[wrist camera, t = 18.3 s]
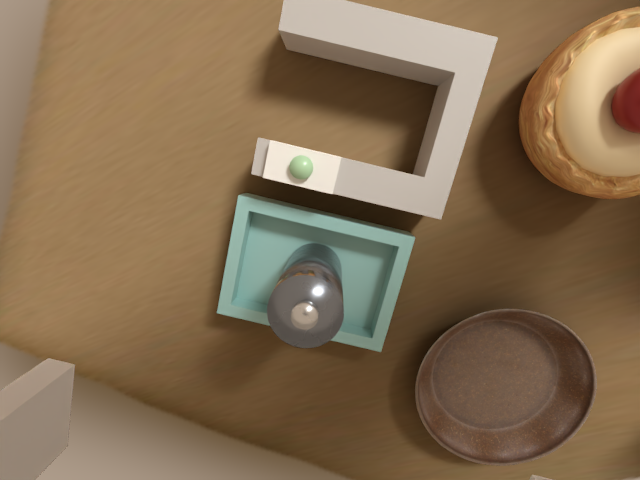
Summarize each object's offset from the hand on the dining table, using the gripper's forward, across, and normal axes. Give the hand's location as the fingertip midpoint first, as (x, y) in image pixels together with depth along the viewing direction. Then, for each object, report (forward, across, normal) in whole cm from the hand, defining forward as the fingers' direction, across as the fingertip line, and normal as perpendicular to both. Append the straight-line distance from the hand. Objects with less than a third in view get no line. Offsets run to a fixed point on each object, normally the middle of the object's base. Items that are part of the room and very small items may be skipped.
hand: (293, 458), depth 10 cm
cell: (+20, -1, -1) cm, 20 cm away
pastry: (+21, +17, +16) cm, 32 cm away
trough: (+21, -1, -1) cm, 21 cm away
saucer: (+22, +17, -7) cm, 28 cm away
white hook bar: (+21, 0, +12) cm, 24 cm away
